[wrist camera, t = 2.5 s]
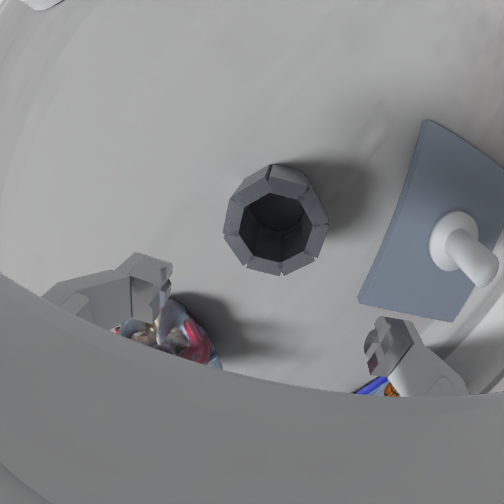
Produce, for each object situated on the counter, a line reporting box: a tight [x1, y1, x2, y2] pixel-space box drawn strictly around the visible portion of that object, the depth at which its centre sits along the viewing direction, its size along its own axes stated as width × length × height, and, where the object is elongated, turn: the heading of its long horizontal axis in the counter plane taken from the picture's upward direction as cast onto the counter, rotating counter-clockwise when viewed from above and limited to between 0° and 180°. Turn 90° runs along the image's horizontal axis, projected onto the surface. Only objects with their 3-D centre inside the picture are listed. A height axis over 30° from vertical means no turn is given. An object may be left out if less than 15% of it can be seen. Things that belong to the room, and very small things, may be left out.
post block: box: [358, 120, 504, 322], centre depth 16 cm, size 16×12×6 cm
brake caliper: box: [115, 299, 223, 370], centre depth 24 cm, size 11×11×12 cm
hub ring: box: [223, 164, 329, 276], centre depth 18 cm, size 6×6×5 cm
